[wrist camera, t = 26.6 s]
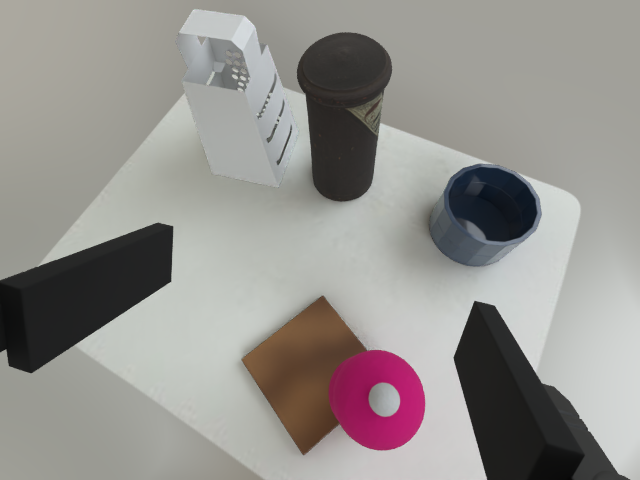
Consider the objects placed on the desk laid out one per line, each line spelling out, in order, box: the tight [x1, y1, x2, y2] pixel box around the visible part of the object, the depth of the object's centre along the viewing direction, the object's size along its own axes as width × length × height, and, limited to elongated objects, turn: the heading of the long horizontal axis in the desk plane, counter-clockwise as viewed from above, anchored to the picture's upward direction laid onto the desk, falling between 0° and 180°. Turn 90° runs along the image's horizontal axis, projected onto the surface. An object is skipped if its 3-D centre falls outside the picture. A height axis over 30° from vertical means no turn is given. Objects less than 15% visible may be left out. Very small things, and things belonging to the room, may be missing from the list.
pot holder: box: [242, 296, 367, 455], centre depth 39 cm, size 12×12×1 cm
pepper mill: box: [328, 350, 425, 450], centre depth 28 cm, size 7×7×20 cm
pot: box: [430, 164, 542, 266], centre depth 42 cm, size 11×11×7 cm
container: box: [297, 32, 392, 201], centre depth 40 cm, size 9×9×20 cm
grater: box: [175, 9, 299, 188], centre depth 43 cm, size 10×10×20 cm
